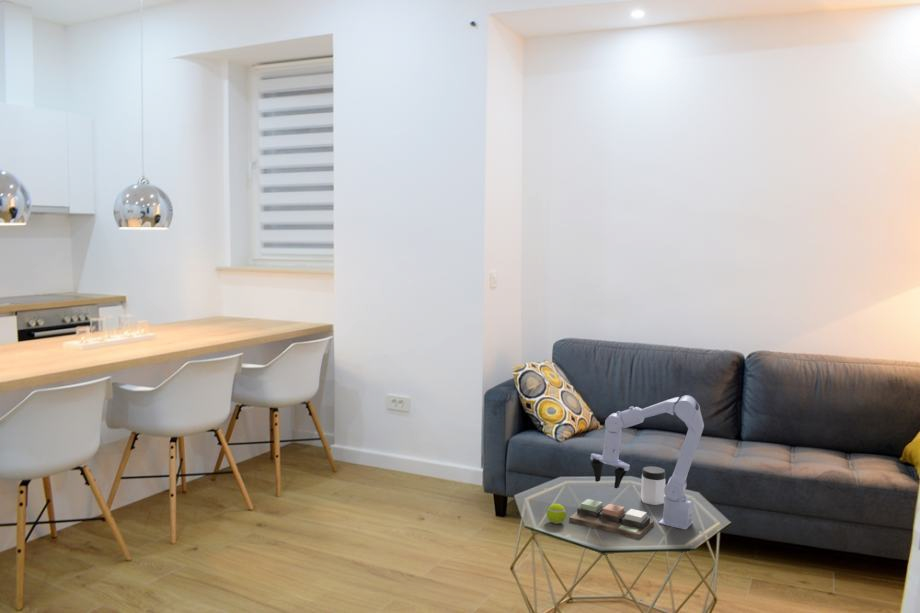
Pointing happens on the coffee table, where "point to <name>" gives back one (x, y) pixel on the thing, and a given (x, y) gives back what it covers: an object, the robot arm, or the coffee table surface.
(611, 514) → the key terracotta
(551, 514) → the tennis ball
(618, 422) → the robot arm
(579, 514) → the console
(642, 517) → the key white
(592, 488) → the coffee table surface
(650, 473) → the jar
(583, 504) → the key sage
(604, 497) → the coffee table surface
